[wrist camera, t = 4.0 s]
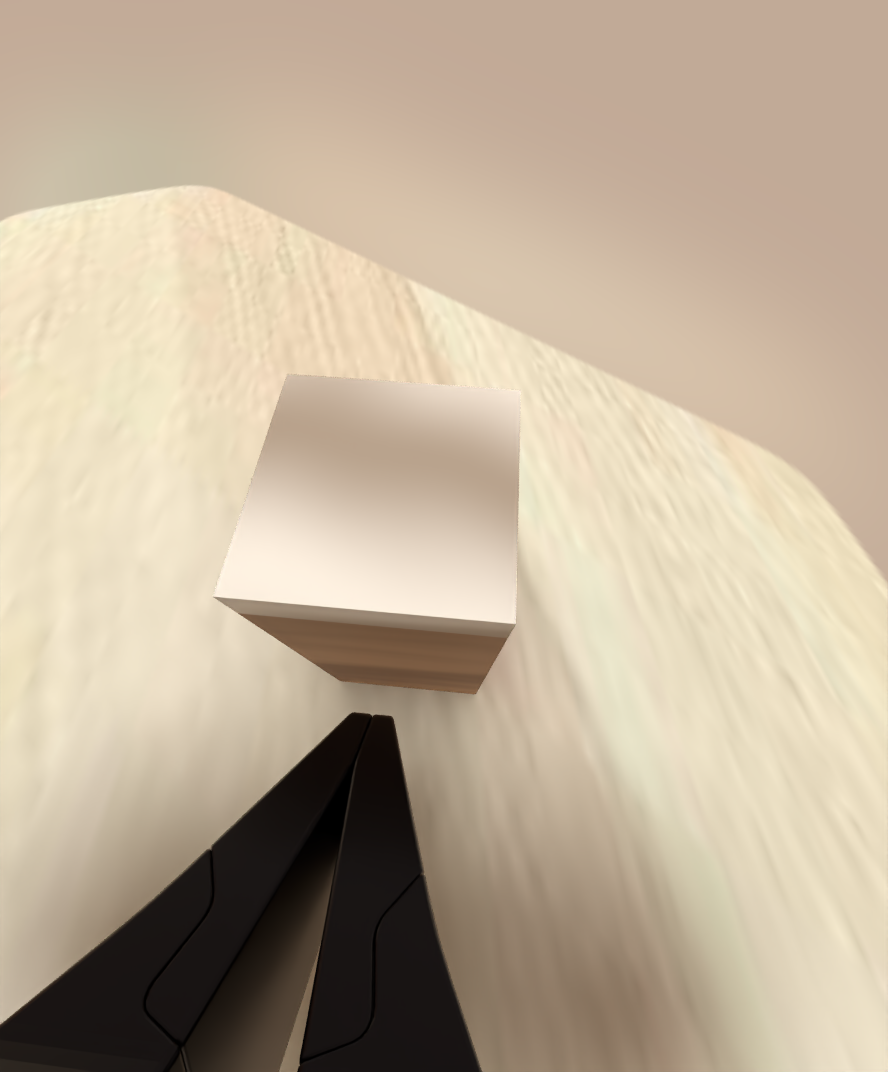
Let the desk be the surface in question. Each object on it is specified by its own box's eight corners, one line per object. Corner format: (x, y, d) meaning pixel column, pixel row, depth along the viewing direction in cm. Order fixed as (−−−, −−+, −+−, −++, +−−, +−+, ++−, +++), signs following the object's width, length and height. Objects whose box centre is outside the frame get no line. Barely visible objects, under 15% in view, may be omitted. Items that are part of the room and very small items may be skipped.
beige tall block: (475, 694, 16) (516, 624, 7) (340, 681, 16) (212, 596, 7) (482, 567, 18) (520, 389, 9) (363, 557, 18) (287, 373, 9)
